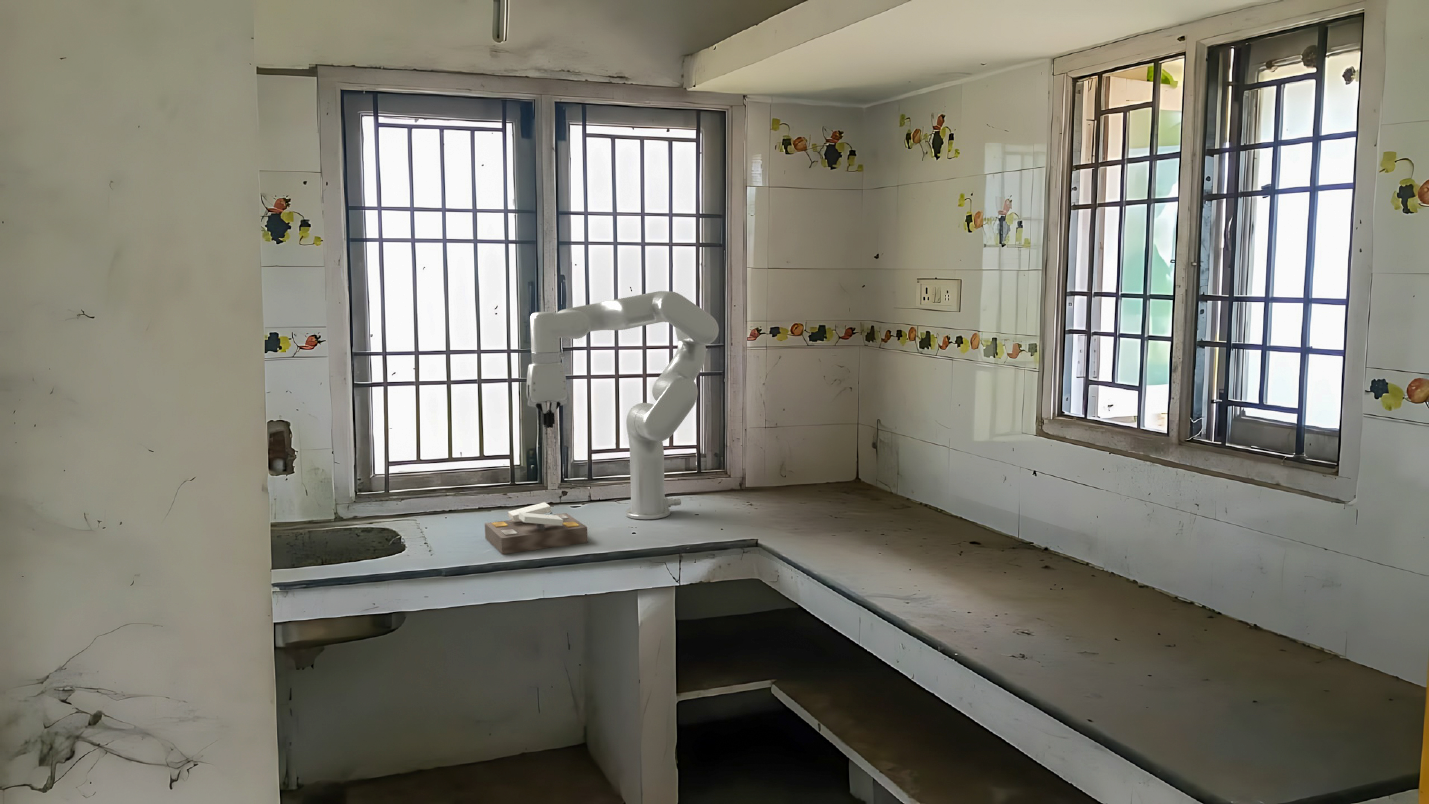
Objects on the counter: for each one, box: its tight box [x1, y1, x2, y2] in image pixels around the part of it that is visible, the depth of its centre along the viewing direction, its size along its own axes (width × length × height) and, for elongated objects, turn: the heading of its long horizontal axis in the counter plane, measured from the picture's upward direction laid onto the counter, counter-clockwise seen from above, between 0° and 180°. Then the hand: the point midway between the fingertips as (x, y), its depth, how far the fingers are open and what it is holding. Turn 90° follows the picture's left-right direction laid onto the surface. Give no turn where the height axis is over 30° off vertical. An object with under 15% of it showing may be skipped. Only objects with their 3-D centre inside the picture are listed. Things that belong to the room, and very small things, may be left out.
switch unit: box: [484, 512, 589, 555], centre depth 266 cm, size 22×17×6 cm
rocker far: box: [507, 501, 552, 521], centre depth 269 cm, size 10×5×2 cm, turn 116°
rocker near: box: [519, 512, 563, 526], centre depth 262 cm, size 10×5×2 cm, turn 116°
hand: (548, 427), depth 277 cm, fingers closed
